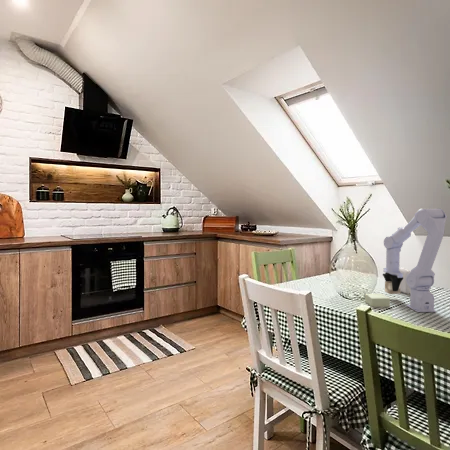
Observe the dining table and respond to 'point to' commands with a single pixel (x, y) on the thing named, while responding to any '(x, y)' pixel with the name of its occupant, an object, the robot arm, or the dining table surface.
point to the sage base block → (377, 300)
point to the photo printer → (404, 281)
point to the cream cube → (390, 288)
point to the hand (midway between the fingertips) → (392, 289)
